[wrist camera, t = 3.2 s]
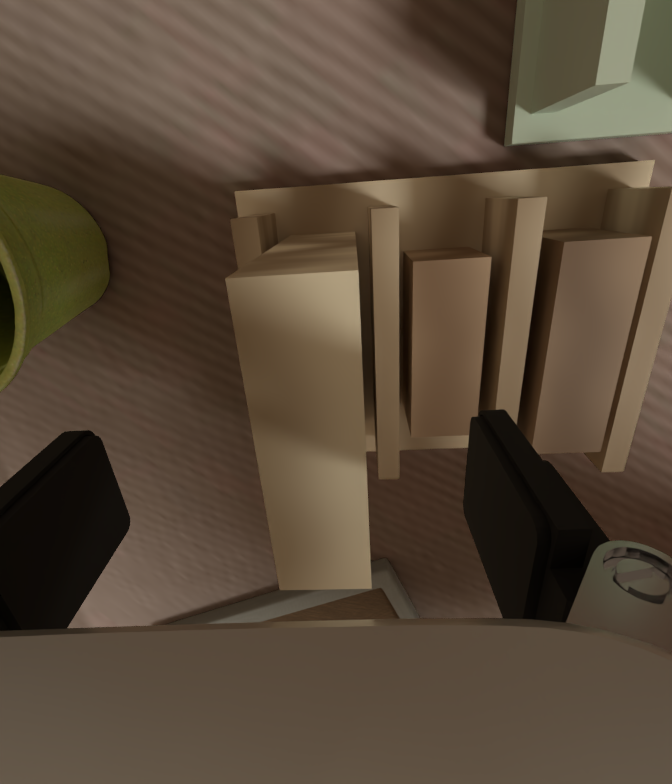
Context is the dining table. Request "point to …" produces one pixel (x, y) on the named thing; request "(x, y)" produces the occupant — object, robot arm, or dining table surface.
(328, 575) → the maple block
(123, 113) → the dining table surface
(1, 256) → the plant pot
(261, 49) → the dining table surface
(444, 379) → the walnut offcut
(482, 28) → the dining table surface
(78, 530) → the robot arm
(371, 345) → the offcut rack
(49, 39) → the dining table surface
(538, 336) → the walnut offcut
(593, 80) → the green stand
